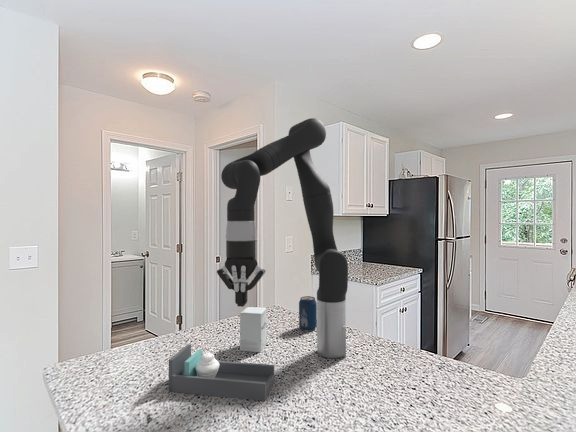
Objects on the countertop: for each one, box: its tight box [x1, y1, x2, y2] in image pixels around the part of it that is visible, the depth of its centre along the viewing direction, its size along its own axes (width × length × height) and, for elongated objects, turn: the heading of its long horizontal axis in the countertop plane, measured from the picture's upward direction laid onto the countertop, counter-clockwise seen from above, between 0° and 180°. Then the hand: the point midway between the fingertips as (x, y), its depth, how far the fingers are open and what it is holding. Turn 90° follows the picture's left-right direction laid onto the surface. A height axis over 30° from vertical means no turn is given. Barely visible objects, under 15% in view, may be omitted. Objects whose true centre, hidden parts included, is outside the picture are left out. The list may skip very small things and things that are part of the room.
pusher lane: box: [168, 343, 275, 402], centre depth 83 cm, size 25×10×8 cm, turn 80°
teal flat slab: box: [185, 349, 203, 376], centre depth 85 cm, size 1×8×6 cm, turn 170°
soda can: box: [298, 295, 317, 332], centre depth 126 cm, size 7×7×12 cm
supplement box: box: [239, 306, 267, 353], centre depth 108 cm, size 7×7×13 cm
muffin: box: [195, 352, 220, 378], centre depth 85 cm, size 6×6×7 cm
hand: (241, 305), depth 83 cm, fingers closed
